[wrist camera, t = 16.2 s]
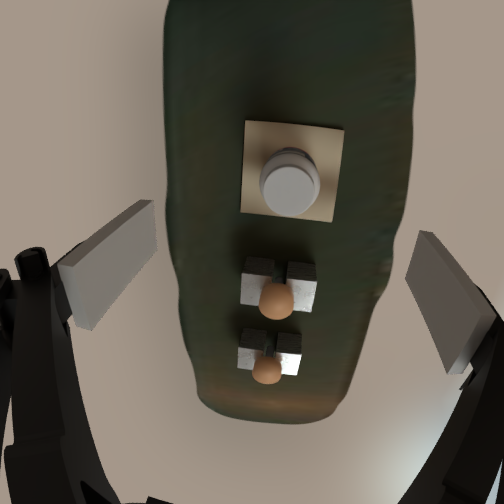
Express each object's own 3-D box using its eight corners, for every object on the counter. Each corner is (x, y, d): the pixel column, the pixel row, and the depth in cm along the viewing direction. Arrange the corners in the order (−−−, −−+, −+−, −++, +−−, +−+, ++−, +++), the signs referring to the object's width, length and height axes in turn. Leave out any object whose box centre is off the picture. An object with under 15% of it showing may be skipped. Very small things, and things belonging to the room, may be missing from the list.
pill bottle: (315, 196, 31) (321, 226, 24) (266, 195, 32) (255, 225, 24) (316, 146, 29) (324, 159, 21) (265, 145, 30) (253, 158, 22)
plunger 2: (258, 337, 40) (253, 363, 35) (285, 340, 39) (282, 367, 35) (256, 355, 41) (251, 381, 37) (281, 358, 41) (279, 385, 37)
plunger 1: (264, 265, 35) (259, 289, 30) (296, 268, 35) (295, 293, 30) (262, 291, 36) (257, 317, 32) (292, 295, 36) (291, 321, 32)
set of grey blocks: (247, 256, 36) (241, 273, 33) (315, 264, 35) (317, 282, 32) (242, 347, 43) (237, 367, 39) (297, 354, 42) (296, 375, 39)
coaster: (246, 120, 29) (245, 120, 29) (343, 130, 28) (344, 130, 28) (241, 211, 34) (240, 212, 33) (331, 221, 33) (331, 222, 32)
